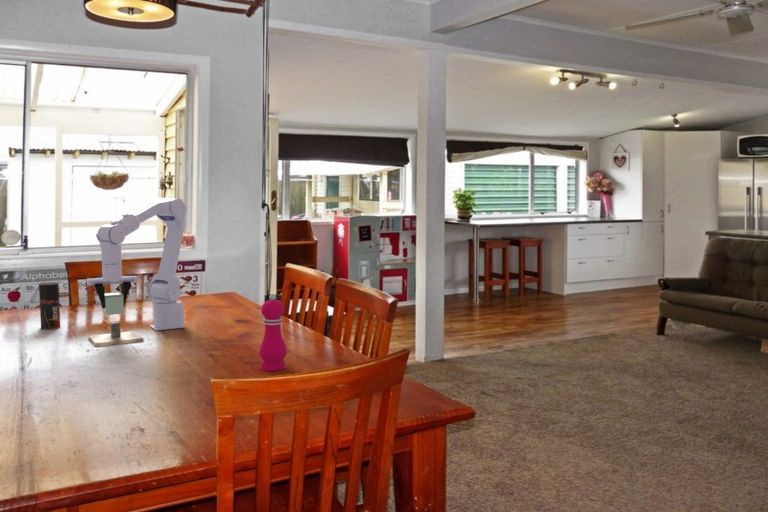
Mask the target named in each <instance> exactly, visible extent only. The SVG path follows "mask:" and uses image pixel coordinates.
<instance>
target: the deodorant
mask: <svg viewBox="0 0 768 512" xmlns="http://www.w3.org/2000/svg"><path fill="white" fill-rule="evenodd" d="M59 286H60V285H59V282H43V283H39V284H38V292H39V294H38V295H39V314H40V329H41V330H56V329H59V328H61V314H60V313H61V312H60V290H59Z"/></svg>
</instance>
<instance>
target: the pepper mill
mask: <svg viewBox="0 0 768 512" xmlns="http://www.w3.org/2000/svg"><path fill="white" fill-rule="evenodd" d="M268 298H269V299H268V300H266V301H264V302H263V303H262V306H260V307H261V309H260V312H261V314H262V316H263V317H264V318H263V319H262V320H263V322H262V323H263V325H264V335H263V339H262V341H261V343H260V347H259V351H258V353H259V357H260V358H261V359H262V360H261V363H260V364H261V366H260V367H261V370H263V371H266V372H278V371H283V370H285V368H286V361H285V360H284V359H285V358H286V356H287V355H288V352H287V351H288V349H287V345H286V343H285V341H284V338H283V335H282V329H281V328H282V324H283V318H282V316H283V314H284V313H285V305H284V304H283V302H281V301H280V300H278V299H276V298H277V296H276V294H274V293H271V294H270V295H269V297H268Z"/></svg>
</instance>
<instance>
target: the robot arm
mask: <svg viewBox="0 0 768 512" xmlns="http://www.w3.org/2000/svg"><path fill="white" fill-rule="evenodd" d="M187 208H188V207H187V206H186V204H185V201H184V200H183V199H181V198H180V197H179V198H178V197H175V198H172V197H171V198H169V197H168V198H167V197H166V198H165V197H156V198H155V199H152V200H151V201H150V203H149V204H147V205H145V206H144V207H142V208H141V209H140V210H138V211H136V212H135V213H134V214H133V213H131V212H130V213H126V212H125V213H123V214H122V216H121V217H119V218H117V219H116V220H112V221H110V222H111V223H110V224H104V225H101V226H100V227H99V228H98V230H97V233H96V239H97V241H98V242H99V247H100V249H101V250H100V251H101V253H100V254H101V274H102V276H101V277H95V278H86V286H87V287H89V286H91V287H92V286H93V288H94V290H95V292H96V294H97V296H98V299H99V301H100V302H99V303H100V305H101V308H102V309H103V308H105V299H104V293H106V292H105V286H104V285H115V284H116V285H117V284H120V293H122V294H123V301H124V307H126V301H127V297H128V294H129V292H130V290H131V288H132V283H135V284H136V283H138V276H137V275H126V276H125V275H123V264H122V263H123V262H122V243H123V242H124V240H125V239H126V237H127V236H129V235H130V234H132V233H134V232H135V231H137V230H139V228H140V225H141V223H143V222H145V221H147V220H149V219H151V218H153V217H155V216H156V217H157V218H158V219H159V220H160V221H161V222H162V223H164V224H165V226H166V228H167V229H166V235H165V239H164V243H163V249H162V254H161V259H160V264H159V268H158V272H157V273H156V274H154V275H153V276H152V278H151V282H150V284H149V285H148V288H147V295H148V297H149V298H150V299H151V302H153V303H152V309H153V310H152V311H153V324H151V325H150V327H151V328H152V329H153V330H155V331H162V330H163V331H164V330H173V329H183V328H185V326H184V325H185V324H184V323H185V322H184V306H183V302H182V301H181V300H178V299H179V298H180V295H181V287H180V286H181V280H180V278H179V277H178V276H177V275H176V272H177V268H178V263H179V259H180V257H179V256H180V252H181V248H182V243H183V238H184V232H185V226H186V221H185V220H186V219H185V218H186V214H187Z"/></svg>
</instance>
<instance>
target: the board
mask: <svg viewBox="0 0 768 512" xmlns="http://www.w3.org/2000/svg"><path fill="white" fill-rule="evenodd" d="M87 338H88V340H89V342H90V343H91V344H93V346H94V347H102V346H103V347H104V346H111V345H122V344H130V343H140V342H144V336H142V335H141V334H139V333H138V332H137V331H135V330H133V331H131V330H130V331H121V322H119V321H112V322H110V333H104V334H95V335H88V336H87Z"/></svg>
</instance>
